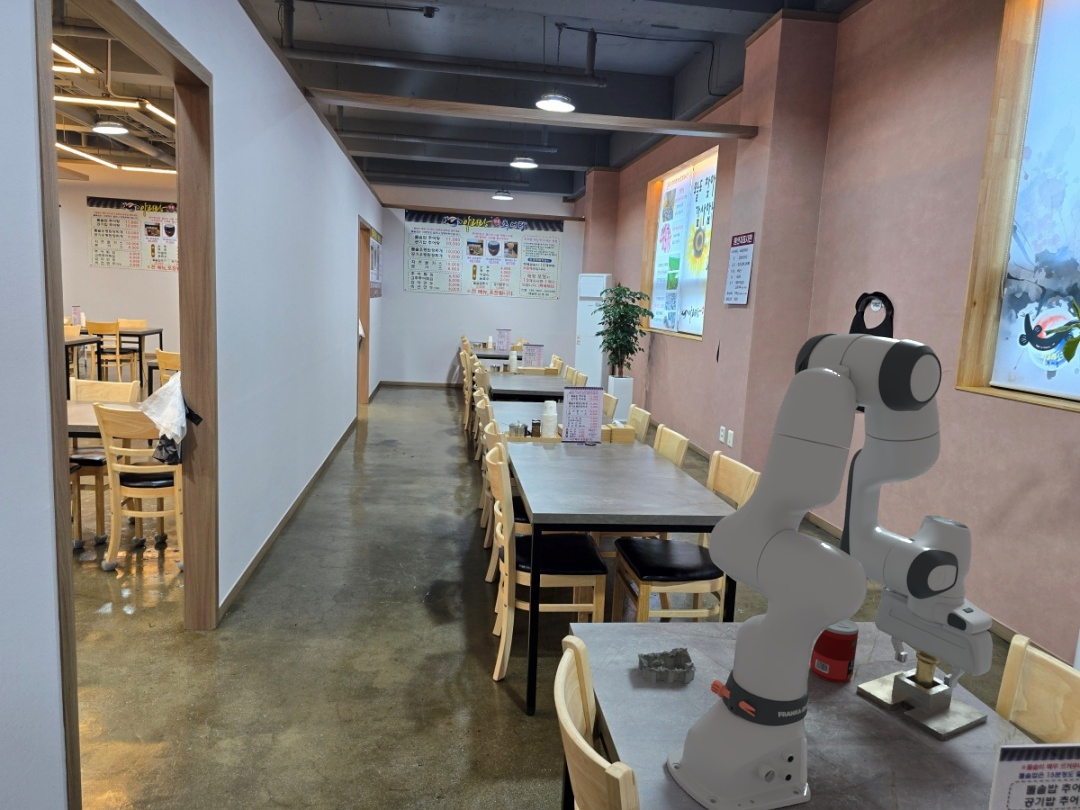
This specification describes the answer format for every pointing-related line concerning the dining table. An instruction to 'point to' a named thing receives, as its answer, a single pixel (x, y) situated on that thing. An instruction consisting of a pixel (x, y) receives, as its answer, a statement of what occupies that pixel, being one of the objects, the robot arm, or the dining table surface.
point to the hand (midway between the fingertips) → (924, 673)
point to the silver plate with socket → (923, 704)
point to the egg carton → (669, 660)
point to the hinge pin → (925, 669)
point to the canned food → (835, 652)
